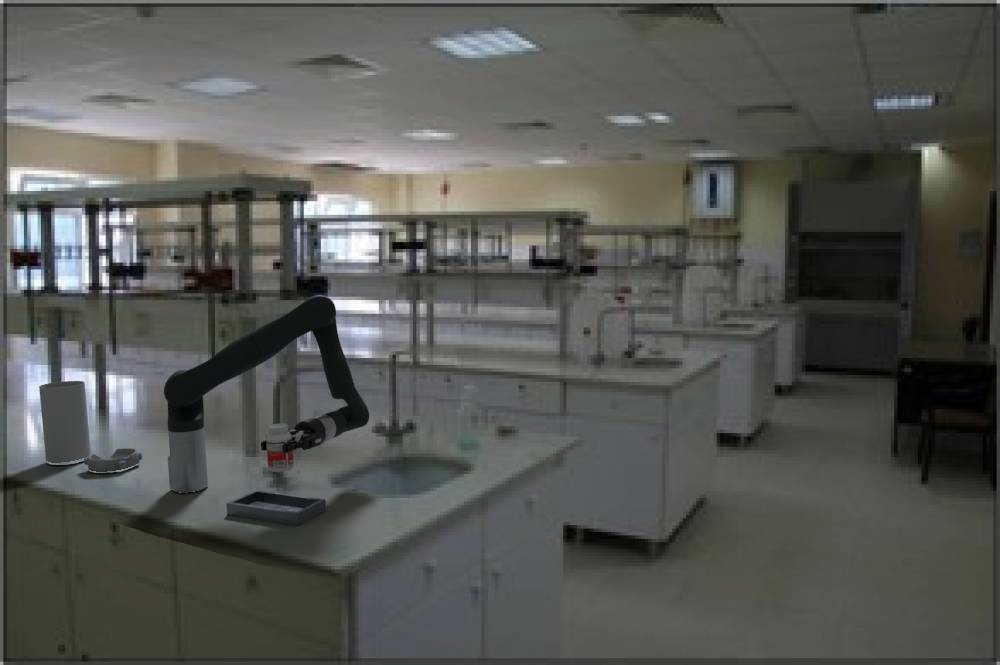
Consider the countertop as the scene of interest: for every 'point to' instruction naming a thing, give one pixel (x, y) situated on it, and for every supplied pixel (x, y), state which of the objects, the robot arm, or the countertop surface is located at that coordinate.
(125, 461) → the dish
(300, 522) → the rectangular tray
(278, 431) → the pill bottle
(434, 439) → the countertop surface
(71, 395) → the cylinder vase
